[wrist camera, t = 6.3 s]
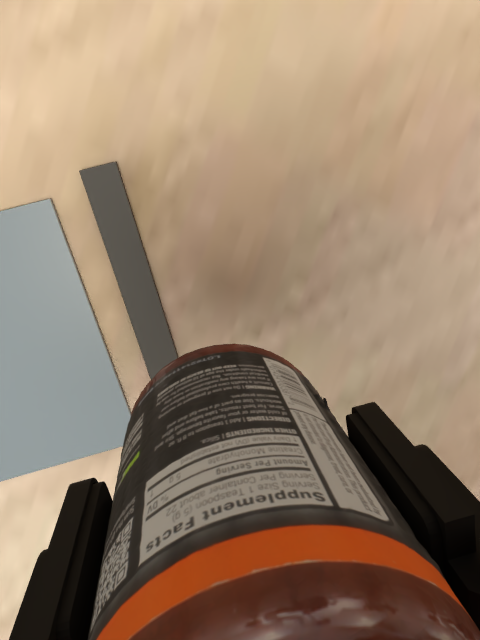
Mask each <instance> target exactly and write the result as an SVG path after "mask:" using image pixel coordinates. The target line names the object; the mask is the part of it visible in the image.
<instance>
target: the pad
mask: <svg viewBox="0 0 480 640" xmlns="http://www.w3.org/2000/svg"><path fill="white" fill-rule="evenodd" d="M130 417H131V412H130V409H129V406H128V404H127V401H126V398H125V396H124V393H123V390H122V388H121V385H120V382H119V379H118V377H117V374H116V371H115V369H114V366H113V363H112V361H111V358H110V355H109V353H108V350H107V347H106V344H105V342H104V339H103V336H102V334H101V331H100V328H99V326H98V323H97V320H96V318H95V315H94V312H93V309H92V307H91V304H90V301H89V299H88V296H87V293H86V291H85V288H84V285H83V283H82V280H81V277H80V275H79V272H78V269H77V266H76V264H75V261H74V258H73V256H72V253H71V250H70V248H69V245H68V242H67V240H66V237H65V234H64V231H63V229H62V226H61V223H60V221H59V218H58V215H57V213H56V210H55V207H54V205H53V202H52V199H47V200H43V201H39V202H35V203H31V204H27V205H23V206H19V207H15V208H11V209H7V210H4V211H0V482H1V481H4V480H8V479H11V478H14V477H18V476H21V475H25V474H28V473H32V472H35V471H39V470H42V469H46V468H49V467H52V466H56V465H59V464H63V463H66V462H70V461H73V460H77V459H80V458H84V457H87V456H91V455H94V454H97V453H101V452H104V451H108V450H111V449H115V448H118V447H122V446H123V443H124V439H125V434H126V431H127V426H128V423H129V421H130Z"/></svg>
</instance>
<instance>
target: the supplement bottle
mask: <svg viewBox="0 0 480 640" xmlns="http://www.w3.org/2000/svg"><path fill="white" fill-rule="evenodd" d="M323 400H324V401H323ZM88 640H480V631H479V629H478V627H477V626H476V624H475V623H474V621H473V620H472V619H471V617H470V616H469V614H468V613H467V611H466V610H465V608H464V607H463V606H462V604H461V603H460V601H459V600H458V598H457V597H456V596H455V594H454V592H453V591H452V589H451V588H450V586H449V584H448V583H447V581H446V580H445V578H444V576H443V574H442V572H441V570H440V568H439V566H438V564H437V563H436V562H435V561H434V560H433V559H432V558H431V557H430V555H429V553H428V552H427V550H426V549H425V548H424V547H423V546H422V545H421V544H420V543H419V541H418V540H417V539H416V537H415V535H414V532H413V531H412V529H411V528H410V526H409V525H408V523H407V522H406V521H405V519H404V518H403V517H402V515H401V514H400V512H399V511H398V509H397V508H396V506H395V505H394V504H393V503H392V501H391V500H390V498H389V496H388V495H387V493H386V491H385V490H384V488H383V487H382V486H381V484H380V483H379V481H378V480H377V478H376V477H375V476H374V475H373V473H372V472H371V470H370V469H369V467H368V466H367V464H366V463H365V462H364V460H363V458H362V457H361V455H360V454H359V453H358V451H357V450H356V448H355V447H354V445H353V444H352V443H351V441H350V439H349V438H348V436H347V435H346V434H345V432H344V431H343V429H342V428H341V427H340V425H339V424H338V422H337V421H336V418H335V417H334V416H333V414H332V413H331V411H330V409H329V408H328V405H327V401H326V399H325V398H323V399H322V398H321V397H320V395H319V393H318V392H317V391H316V390H315V388H314V387H313V386H312V384H311V383H310V382H309V380H308V379H307V378H306V377H304V375H303V374H302V373H301V372H300V371H299V370H298V369H297V368H296V367H294V366H293V365H292V364H291V363H290V362H288V361H287V360H285V359H283V358H282V357H280V356H278V355H276V354H274V353H272V352H270V351H267V350H264V349H261V348H258V347H254V346H250V345H241V344H224V345H214V346H209V347H205V348H201V349H198V350H195V351H193V352H190V353H187V354H185V355H183V356H181V357H179V358H177V359H175V360H174V361H172V362H171V363H169V364H168V365H166V366H165V367H163V368H162V369H161V370H160V371H159V372H158V373H157V374H156V375H155V377H154V378H153V379H152V380H151V381H150V382H149V383H148V384H147V385H146V387H145V388H144V390H143V391H142V392H141V394H140V396H139V398H138V400H137V401H136V403H135V406H134V408H133V410H132V414H131V417H130V421H129V423H128V426H127V431H126V434H125V439H124V443H123V449H122V453H121V462H120V467H119V471H118V476H117V483H116V487H115V493H114V497H113V504H112V509H111V515H110V519H109V525H108V531H107V536H106V540H105V547H104V555H103V559H102V565H101V570H100V575H99V579H98V584H97V590H96V597H95V601H94V607H93V614H92V619H91V624H90V629H89V635H88Z"/></svg>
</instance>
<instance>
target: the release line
mask: <svg viewBox="0 0 480 640" xmlns="http://www.w3.org/2000/svg"><path fill="white" fill-rule="evenodd" d="M79 172H80V175H81V178H82V181H83V184H84V186H85V189H86V192H87V195H88V198H89V201H90V204H91V207H92V210H93V213H94V216H95V218H96V221H97V224H98V227H99V230H100V233H101V236H102V239H103V242H104V245H105V248H106V250H107V253H108V256H109V259H110V262H111V265H112V268H113V271H114V274H115V277H116V280H117V282H118V285H119V288H120V291H121V294H122V297H123V300H124V303H125V306H126V309H127V312H128V314H129V317H130V320H131V323H132V326H133V329H134V332H135V335H136V338H137V341H138V344H139V346H140V349H141V352H142V355H143V358H144V361H145V364H146V367H147V370H148V373H149V376H150V378H151V380H152V379H153V378H154V377H155V375H156V374H157V373H158V372H159V371H160V370H161V369H162V368H163V367H165V366H166V365H168V364H169V363H171V362H172V361H174V360H175V359H177V358H178V356H177V353H176V350H175V346H174V343H173V340H172V337H171V334H170V330H169V327H168V324H167V321H166V318H165V315H164V311H163V308H162V305H161V302H160V299H159V296H158V292H157V289H156V286H155V283H154V280H153V276H152V273H151V270H150V267H149V264H148V261H147V257H146V254H145V251H144V248H143V245H142V242H141V238H140V235H139V232H138V229H137V226H136V222H135V219H134V216H133V213H132V210H131V207H130V203H129V200H128V197H127V194H126V191H125V188H124V184H123V181H122V178H121V175H120V172H119V168H118V165H117V162H112V163H108V164H104V165H100V166H96V167H92V168H88V169H84V170H80V171H79Z"/></svg>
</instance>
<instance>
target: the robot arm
mask: <svg viewBox="0 0 480 640" xmlns="http://www.w3.org/2000/svg"><path fill="white" fill-rule="evenodd" d="M346 423H347V429H348V436H349V439H350V441H351V443H352V444H353V445H354V447H355V448H356V450H357V451H358V453H359V454H360V455H361V457H362V458H363V460H364V462H365V463H366V464H367V466H368V467H369V469H370V470H371V472H372V473H373V475H374V476H375V477H376V478H377V480H378V481H379V483H380V484H381V486H382V487H383V488H384V490H385V491H386V493H387V495H388V496H389V498H390V500H391V501H392V503H393V504H394V505H395V506H396V508H397V509H398V511H399V512H400V514H401V515H402V517H403V518H404V519H405V521H406V522H407V523H408V525H409V526H410V528H411V529H412V531H413V532H414V535H415V537H416V539H417V540H418V541H419V543H420V544H421V545H422V546H423V547H424V548H425V549H426V550H427V552H428V553H429V555H430V557H431V558H432V559H433V560H434V561H435V562H436V563H437V564H438V566H439V568H440V570H441V572H442V574H443V576H444V578H445V580H446V581H447V583H448V584H449V586H450V588H451V589H452V591H453V592H454V594H455V596H456V597H457V598H458V600H459V601H460V603H461V604H462V606H463V607H464V608H465V610H466V611H467V613H468V614H469V616H470V617H471V619H472V620H473V621H474V623H475V624H476V626H477V627H478V629H479V631H480V502H479V501H478V500H477V498H476V497H475V496H474V495H473V494H472V493H471V492H470V491H469V490H468V489H467V488H466V487H465V486H464V485H463V484H462V482H461V481H460V480H459V479H458V478H457V477H456V476H455V475H454V474H453V473H452V472H451V471H450V470H449V469H448V468H447V467H446V465H445V464H444V463H443V462H442V461H441V460H440V459H439V458H438V457H437V456H436V455H435V454H434V453H433V452H432V451H431V449H429V448H428V447H427V446H426V445H423V444H421V445H418V446H413V445H412V443H411V442H410V441H409V440H408V439H407V438H406V437H405V436H404V434H403V433H402V432H401V431H400V430H399V429H398V428H397V427H396V425H395V424H394V423H393V422H392V421H391V420H390V419H389V418H388V416H387V415H386V414H385V413H384V412H383V411H382V410H381V409H380V407H379V406H378V405H377V404H376V403H375V402H371V403H367V404H364V405H360V406H356V407H353V408H352V414H349V415H347V416H346ZM112 504H113V501H112V498H111V496H110V493H109V490H108V488H107V486H106V483H105V482H99V483H98V481H97V480H96V479H95V478H91V479H87V480H83V481H80V482H76V483H72V484H70V486H69V488H68V490H67V493H66V496H65V499H64V502H63V505H62V508H61V511H60V514H59V517H58V520H57V523H56V526H55V529H54V532H53V535H52V538H51V541H50V544H49V547H48V549H46V550H43V551H42V552H41V553H40V555H39V557H38V559H37V562H36V564H35V567H34V570H33V573H32V576H31V579H30V581H29V584H28V587H27V590H26V593H25V596H24V598H23V601H22V604H21V607H20V610H19V613H18V615H17V618H16V621H15V624H14V627H13V630H12V632H11V635H10V638H9V640H88V635H89V629H90V624H91V619H92V614H93V607H94V601H95V597H96V590H97V584H98V579H99V575H100V570H101V565H102V559H103V555H104V547H105V540H106V536H107V531H108V525H109V519H110V515H111V509H112Z"/></svg>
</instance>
